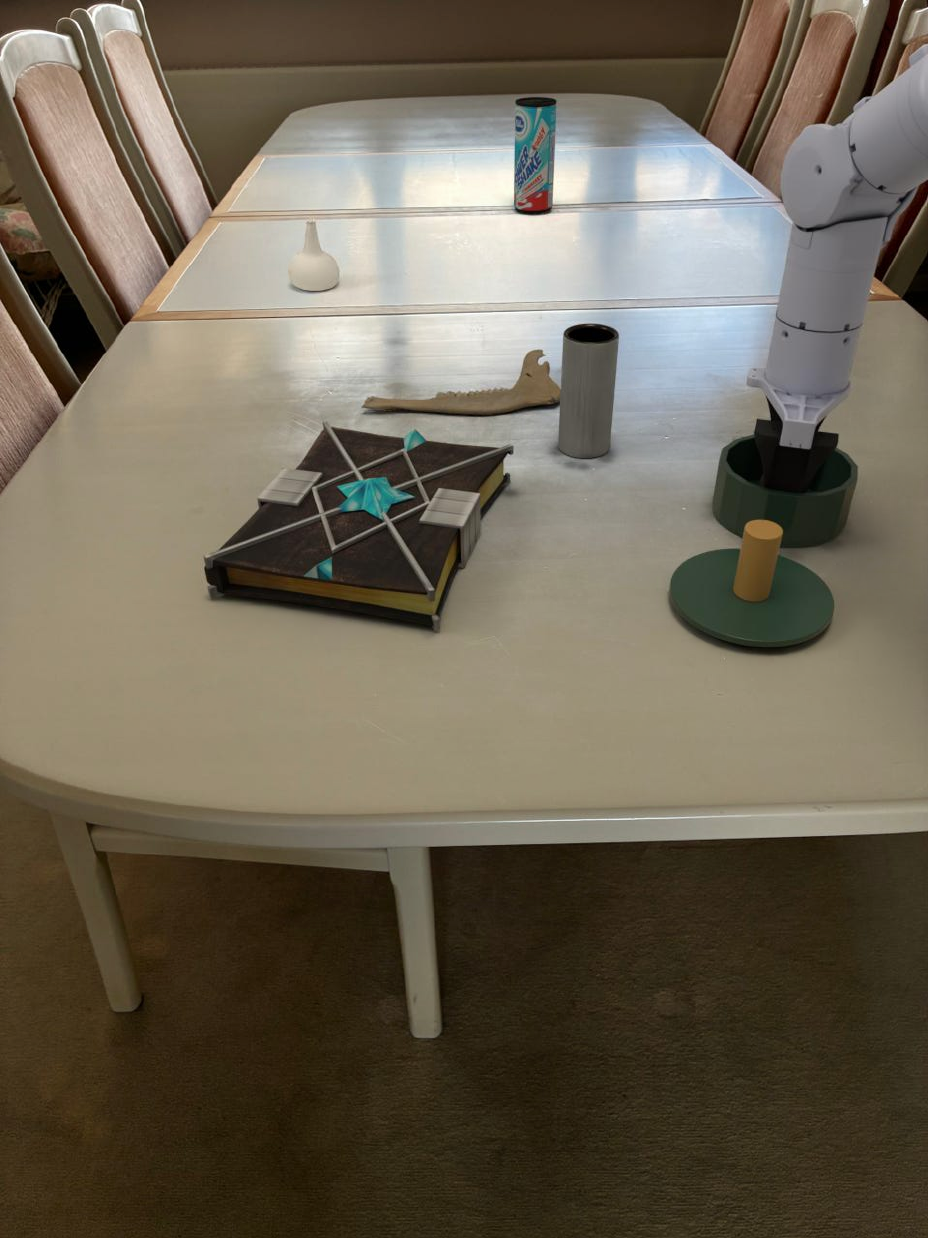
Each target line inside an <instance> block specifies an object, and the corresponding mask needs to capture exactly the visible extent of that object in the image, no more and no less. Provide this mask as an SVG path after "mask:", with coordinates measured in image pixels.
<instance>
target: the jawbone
mask: <svg viewBox="0 0 928 1238" xmlns="http://www.w3.org/2000/svg"><path fill="white" fill-rule="evenodd" d="M542 357H546V354H544V350H543V349H533V350H530V351H528V352H527V353H526V354H525V356H524V358H523V360H522V365H521V371H520V375H519V377H518V380H517V382H516V383H515V384H514V385H513V386H512V388H507V387H505V388H504V387H503V386H500V388H499V389H498V388H497V387H494V388H492V389H491V388H488V389H487V390H485V389H481V391H479V390H478V389H477V390H475V391H473V390H472V391H471V390H469V391H468V392H466V391H464V392H461V391H460V390H458V391H456V392H454V391H451V390H448V391H446V392H443V391H439V392H437V393H436V396H435V397H432V398H427V399H401V398H385V397H384V398H383V397H378V396H374V395H372V396H368V397H366V399H365V400H364V403H363V404H362V405H361V408H362V409H367V410H382V411H385V412H394V411H398V410H399V411H400V410H408V411H412V412H422V413H423V412H424V413H440V414H441V413H442V414H455V415H456V414H457V415H477V416H491V415H493V416H494V415H499V414H505V413H511V412H514V411H517V410H521V409H524V408H529V407H535V406H542V405H554V404H556V403H558V402H560V393H561V387H560V386H559V385H558V383H556V382H555V380H553V379H552V378H551V376H550V372H551V366H550V362H549V361H548V360H545V361H543V362H542V364H539V360H540V359H541V358H542Z"/></svg>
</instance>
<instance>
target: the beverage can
mask: <svg viewBox="0 0 928 1238" xmlns="http://www.w3.org/2000/svg"><path fill="white" fill-rule="evenodd" d="M514 102H515V103H514V104H515V108H514V109H515V110H514V111H515V112H514V164H513V165H514V167H513V168H514V171H513V177H514V178H513V186H514V187H513V208H514V210H515V211H516V212H517V213H520V214H522V215H530V216H531V215H533V216H535V215H544V214H547V213H549V212H551V211H552V208H553V204H554V203H553V200H554V177H555V157H556V156H555V153H556V129H557V127H556V125H557V122H556V121H557V102H558V101H557V99H555V98H553V97H546V96H543V97H542V96H528V97H522V98H517V99H515V101H514Z"/></svg>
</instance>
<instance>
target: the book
mask: <svg viewBox="0 0 928 1238" xmlns="http://www.w3.org/2000/svg"><path fill="white" fill-rule="evenodd" d="M322 428H323V429H322V430H321V431H320V433H319V434H318V435H317V438H316V439H315V441H314V442H313V444H312V445H311V447H310V448H309V450H308V451H307V452H306V454H305V456H304V457H303V459H302V461H301V462H300V464H299V465H298V466H296V468H295V469H294V468H286V467H285V468H284V467H283V468H282V470H280V471H279V473H278V474H277V475H276V476H275V477H274V478H273V480H272V481H270V482H269V484H267V486H266V487H265V488H264V489H263V491H262V492H260V494H259V495H258V496H257V498H256V499H257V505H258V506H257V507H258V509H257V510H256V511H255V513H254V514H252V515H251V517H250V518H248V520H247V521H246V522H245V523H244V524H243V525H242V526H240V528H239V529H238V530H237V531H236V532H235V533H233V535H232V536H231V537H230V538H229V539H228V540H227V541H226V542H224V544H223V545H221V546H220V548H219V549H218V550H216V551H213V552H210V553H208V554H205V555H202V556H203V561H204V567H203V569H204V575H205V580H206V583H207V584H208V585H207V591H208V592H207V593H208V596H209V598H210V599H211V600H214V599H216V598H219V597H221V596H223V595H229V596H239V597H249V598H257V599H265V600H266V599H267V600H274V601H275V600H276V601H282V602H283V601H284V602H290V603H298V604H304V605H310V606H316V607H324V608H329V609H336V610H342V611H349V612H354V613H355V612H356V613H361V614H367V615H373V616H379V617H385V618H390V619H394V620H400V621H405V622H410V623H415V624H420V625H427V626H431V627H432V629H433V630H434V631H435V632H436V631H441V621H440V620H441V619H440V614H441V611H442V609H443V605H444V603H445V600H446V597H447V594H448V591H449V588H450V586H451V582H452V580H453V578H454V576H455V574H456V572H457V569H458V568H461V569H465V566H466V565H467V563H468V560H469V558H470V556H471V554H472V552H473V551H474V548H475V546H476V544H477V542H478V540H479V538H480V536H481V534H482V533H481V531H482V530H481V529H482V528H481V522H482V521H481V518H482V516H483V514H484V513H485V511H486V510H487V509H488V508H489V507H490V505H491V504H492V502H493V501H494V499H495V498H496V497H497V495H498V494H499V493H500V492H501V490H502V489H503V488H504V486H505V485H507V484H509V483H510V484H511V473H509V472H505V473H504V467H505V465H504V464H505V463H504V462H505V461H504V460H505V459H506V457H507V456H508V455H510V456H512V455H514V445H513V444H512V443H509V444H506V445H504V446H500V447H498V446H497V447H495V446H484V445H483V446H482V445H469V444H460V443H458V444H457V443H449V442H441V441H434V440H427V439H426V438H425V437H424V436H423V435H422V434H421V433H420V432H419V431H418V430H417V429H416V428H415V427H414V428H412V430H410V431H409V432H408V433H407V434H406V435H405V436H404V437H400V436H393V435H392V436H391V435H384V434H378V433H377V434H376V433H372V432H366V431H359V430H353V429H348V428H342V427H337V426H331V425H330V424H329V422H328V421H327V420H324V421H322Z"/></svg>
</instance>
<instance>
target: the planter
mask: <svg viewBox="0 0 928 1238" xmlns="http://www.w3.org/2000/svg"><path fill="white" fill-rule="evenodd" d="M619 343H620V333H619V332H618V330H617V329H615V328H614V327H612V326H610V325H606V324H601V323H578V324H574V325H571V326H569V327H567V328H565V329H564V331H563V334H562V352H561V354H562V355H561V377H560V389H561V393H560V400H559V416H558V417H559V418H558V437H557V438H558V440H557V441H558V442H557V443H558V444H557V445H558V448H559V450H560V451H561V452H562V453H563V454H565V455H566V456H570V457H573V458H578V459H592V458H598V457H601V456H603V455H605V454H607V452H609V450H610V447H611V438H612V437H611V436H612V426H613V414H614V413H613V412H614V403H615V402H614V401H615V392H616V391H615V390H616V379H617V366H618V353H619Z"/></svg>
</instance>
